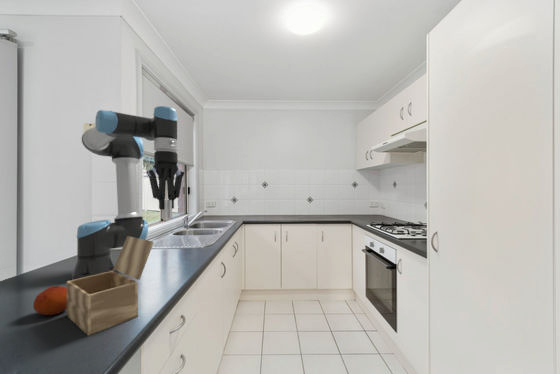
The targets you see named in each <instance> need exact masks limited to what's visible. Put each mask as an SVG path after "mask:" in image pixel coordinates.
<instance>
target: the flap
mask: <svg viewBox="0 0 560 374" xmlns="http://www.w3.org/2000/svg"><path fill="white" fill-rule="evenodd" d="M154 243H155V241H151V240H147V239H146V240H143V239H139V238H134V237H130V236H127V238H126V240H125V243H124V245H123V247H121V250H120V253H119V255H118V257H117V260H116V263H115V264H114V266H115V267H114V270H115V272H118V273H120V274H122V275H125V276H128V277H130V278H133V279H135V280H136V281H137V280H138V281H139V280H141V277H142V274H143V271H144V269H145V267H146V264H147V262H148V259H149V256H150V253H151V251H152V249H153V246H154Z"/></svg>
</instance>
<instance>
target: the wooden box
mask: <svg viewBox="0 0 560 374" xmlns="http://www.w3.org/2000/svg"><path fill="white" fill-rule="evenodd" d="M138 285H139V283H138V281H137V280H134V279H132V278H131V277H130V278H129V277H127V276H126V275H124V274H122V273H119V272H117V271H115V272H114V271H110V272H105V273H101V274H97V275H92V276H88V277H84V278H79V279H75V280H67V281H66V288H67V309H66V317H67V318H69V319H70V320H71V321H72V322H73V323H74V324H75V325H76V326H77V327H78V328H79V329H80V330H81V331H82V332H83V333H84V334H86V335H87V336H88V337H89V336H91V335H94V334H97V333H99V332H102V331H105V330H107V329H109V328H112V327H115V326H118V325H121V324H123V323H125V322H128V321H131V320H133V319H136V318H139V312H138V311H139V303H138V302H139V300H138V299H139V294H138V291H139V290H138V289H139V287H138Z"/></svg>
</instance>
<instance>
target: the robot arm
mask: <svg viewBox="0 0 560 374" xmlns="http://www.w3.org/2000/svg"><path fill="white" fill-rule="evenodd" d="M178 120H179V119H178V113H177V110H176V109H175V108H173V107H169V106H164V105H160V106H158V105H157V106H156V107H154V109H153V117H152V118H151V117H146V116H140V115H139V116H138V115H133V114H127V113H123V112H117V111H112V110H103V109H100V110H98V111H97V112H96V115H95V124H94V125H95V126H94V127H93V128H89V129H87V130H85V131H84V133H83V134H82V136H81V143H82V145H83V146H84V148H85V149H86V150H88V152H91V153H92V154H95V155H97V156H101V157H110V158H111V161H112V163H113V164H115V174H116V175H115V176H116V178H115V179H116V198H117V199H116V200H117V215H116V216H115V217H114V222H111V220H110V219H103V220H95V221H89V222H86V223H83V224H80V225H79V226H78V227H77V233H76V234H77V235H76V239H77V240H76V243H77V245H76V246H77V248H76V249H77V250H76V251H77V252H76V253H77V254H76V255H77V260H76V263H75V265H74V269H73V271H72V273H71V279H72V280H75V279H79V278H84V277H88V276H92V275H97V274H101V273H105V272H110V271H114V272H116V270H114V267H115V264H114V261H113V259H112V256H111V250H112V249H120V248H121V249H122V248H123V245H124V243H125V240H126V238H127V236H130V237H134V238H139V239H143V240H147V237H148V234H149V233H148V232H149V224H148V221H147V219H144V217H143V215H142V214H140V209H139V207H140V206H139V190H138V189H139V188H138V172H137V164H138V163H140V159H143V157H144V152H145V151H144V150H145V148H144V143H143V140H142V139H145V140H146V141H153V145H154V147H153V150H154V151H155V152H154V153H153V155H154V156H153V159H154V161H153V162H154V165H153V168H152V169H149V170H146V174H147V176H148V177H149V183H150V189H151V192H152V198H153V199H156V200H158V209H159V210H160V211H161V217H160V219H162V220H169V219H173V209H174V208H175V200H176V199H178V198H180V193H181V188H182V187H181V186H182V180H183V177H184V175H185V172H184V171H181V170H180V169H179V166H178V157H179V156H178V153H177V151H178ZM156 174H157V175H156ZM175 175H176V176H175ZM157 176H158V177H157ZM157 178H158V179H157ZM166 190H167V199H166Z"/></svg>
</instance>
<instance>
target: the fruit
mask: <svg viewBox="0 0 560 374" xmlns="http://www.w3.org/2000/svg"><path fill="white" fill-rule="evenodd" d="M33 309H34V311H35V312H36V313H38V314H40V315H43V316H54V315H58V314H61V313H63V312H64V311H65V310H67V286H66V287H65V286H61V285H52V286H49V287H47V288H46V289H44V290H43V291H41V292H39V294H38V295H36V297H35V299H34V301H33Z"/></svg>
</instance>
